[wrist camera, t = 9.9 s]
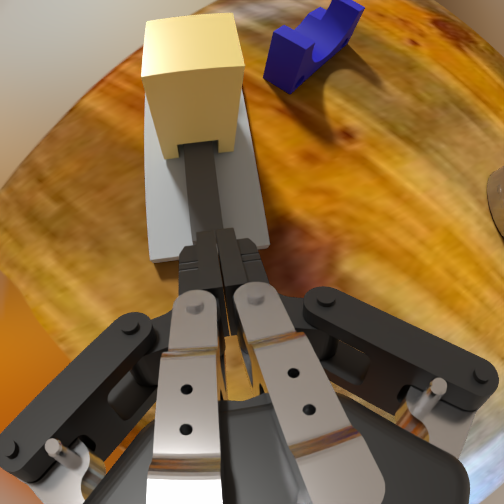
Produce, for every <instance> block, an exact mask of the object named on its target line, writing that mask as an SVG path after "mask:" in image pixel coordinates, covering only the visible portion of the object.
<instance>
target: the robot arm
mask: <svg viewBox="0 0 504 504" xmlns="http://www.w3.org/2000/svg"><path fill="white" fill-rule="evenodd" d="M487 194H488V202H489V206H490V210H491V213H492V216H493V219H494V221H495V224H496V226H497V228H498V230H499V231H500V233H501V235H502V236H503V237H504V166H503V167H501V168H499V169H498V170H496V171H494V172H493V173H492V174H491V175H490V177H489V179H488V185H487ZM216 239H217V247H218V253H217V247H216V240H215V233H214V230H209V231H202V232H196V240H197V245H190V246H184V248H183V249H182V251H181V252H180V254H179V297H178V298H177V299H176V300H175V302H174V304H173V309H172V310H171V311H169V312H168V313H166V314H164V315H162V316H160V317H157V318H154V319H152V320H150V318H149V317H148V316H147V315H145V314H143V313H139V312H131V313H127V314H124V315H122V316H120V317H119V318H118V319H116V320H115V321H114V322H113V323H112V324H111V325H110V326H109V327H108V328H107V329H106V330H104V331H103V332H102V333H101V334H100V335H99V336H98V337H97V338H96V339H95V340H94V341H93V342H92V343H91V344H90V345H89V346H88V347H86V348H85V349H84V350H83V351H82V352H81V353H80V354H79V355H78V356H77V357H76V358H75V359H74V360H73V361H72V362H71V363H70V364H69V365H68V366H67V367H66V368H65V369H64V370H63V371H62V372H61V373H60V374H59V375H58V376H57V377H56V378H55V379H53V380H52V382H51V383H50V384H49V385H47V386H46V387H45V388H44V389H43V390H42V392H41V393H40V394H39V395H37V397H35V399H34V400H33V401H32V402H31V403H30V404H29V405H28V406H27V407H26V408H25V409H24V410H23V411H22V412H21V413H20V414H19V415H18V416H17V417H16V418H15V419H14V420H13V421H12V422H11V423H10V424H9V425H8V426H7V427H6V429H4V431H3V432H2V433H1V434H0V467H1V468H3V469H4V470H5V471H7V472H9V473H10V474H12V475H14V476H15V477H17V478H18V479H19V480H20V481H22V482H24V483H25V484H27V485H29V487H30V488H31V489H32V490H33V491H34V492H35V494H36V495H37V496H38V497H39V499H40V500H41V501H42V502H43V503H44V504H469V495H470V482H469V477H468V474H467V472H466V469H465V468H464V466H463V464H462V463H461V462H460V461H459V460H458V458H459V456H460V454H461V451H462V449H463V446H464V444H465V441H466V439H467V436H468V433H469V431H470V428H471V425H472V422H473V419H474V417H475V414H476V411H477V410H478V409H479V408H480V407H481V406H482V405H483V404H484V403H485V402H486V401H487V400H488V398H489V397H490V396H491V395H492V394H493V393H494V392H495V390H496V389H497V387H498V383H499V377H498V373H497V371H496V369H495V367H494V366H493V365H492V364H491V363H490V362H488V361H487V360H485V359H483V358H481V357H479V356H477V355H475V354H473V353H470V352H468V351H466V350H464V349H462V348H460V347H458V346H456V345H454V344H451V343H449V342H447V341H445V340H443V339H441V338H439V337H437V336H434V335H432V334H430V333H428V332H426V331H424V330H422V329H420V328H418V327H415V326H413V325H411V324H409V323H407V322H405V321H403V320H401V319H398V318H396V317H394V316H392V315H390V314H388V313H386V312H384V311H381V310H379V309H377V308H375V307H373V306H371V305H369V304H367V303H364V302H362V301H360V300H358V299H356V298H354V297H352V296H350V295H347V294H345V293H343V292H341V291H339V290H337V289H334V288H331V287H316V288H313V289H311V290H309V291H308V292H307V293H306V294H305V296H304V298H295V297H287V296H283V295H281V294H279V293H277V291H276V290H275V288H274V287H272V286H271V285H270V284H269V281H268V278H267V275H266V272H265V269H264V267H263V264H262V261H261V258H260V255H259V252H258V249H257V246H256V244H255V243H254V242H253V241H251V240H250V239H249V238H243V239H236V235H235V231H234V228H233V227H232V228H224V229H216ZM218 255H219V260H218ZM219 263H220V266H219ZM220 271H221V272H220ZM221 277H222V279H221ZM222 284H223V285H222ZM223 290H224V292H223ZM224 296H225V300H224ZM225 302H226V307H225ZM226 308H227V314H228V319H229V325H230V331H231V336H232V335H237V336H238V341H239V349H240V355H241V358H242V361H243V365H244V368H245V371H246V375H247V378H248V381H249V384H250V388H251V391H252V394H253V398H251V399H248V400H245V401H229V400H228V392H227V376H226V360H225V348H226V347H225V339H224V337H226V336H229V329H228V322H227V315H226ZM339 340H340V341H339ZM341 341H342V342H341ZM343 342H344V343H343ZM345 343H346V344H345ZM347 344H348V345H347ZM349 345H350V346H349ZM351 346H352V347H351ZM353 347H354V348H353ZM358 350H359V351H358ZM360 351H361V352H360ZM362 352H363V353H362ZM364 353H365V354H364ZM329 380H330V381H331V382H333V383H335V384H337V385H338V386H340V387H342V388H344V389H345V390H347V391H349V392H351V393H353V394H354V395H356V396H358V397H360V398H362V399H364V400H365V401H367V402H369V403H371V404H373V405H375V406H376V407H378V408H380V409H382V410H384V411H386V412H388V413H390V414H392V415H394V416H395V422H396V424H397V425H396V424H394V423H392V422H391V421H389V420H387V419H385V418H384V417H382V416H380V415H378V414H377V413H375V412H373V411H371V410H370V409H368V408H366V407H365V406H363V405H361V404H360V403H358V402H356V401H355V400H353V399H351V398H349V397H347V396H345V395H343V394H340V393H337V392H335V391H334V389H333V387H332V385H331V383H330V381H329ZM155 402H156V414H155V419H154V420H153V421H151V422H150V423H149V424H147V425H146V426H145V427H144V428H143V429H142V430H141V431H140V432H139V434H138V435H137V436H136V437H135V439H134V440H133V441H132V442H131V444H130V445H129V446H128V448H127V449H126V450H125V451H124V453H123V454H122V455H121V456H120V458H119V459H118V460H117V461H116V463H115V464H114V465H113V466H112V468H111V469H110V470H109V471H108V473H107V474H106V469H105V464H104V461H105V460H106V459H107V458H108V457H109V455H110V454H111V453H112V452H113V450H115V448H116V447H117V446H118V445H119V444H120V443H121V442H122V440H123V439H124V438H125V437H126V436H127V435H128V433H129V432H130V431H131V430H132V429H133V428H134V426H135V425H136V424H137V423H138V422H139V421H140V419H141V418H142V417H143V416H144V415H145V414H146V412H147V411H148V410H149V409H150V408H151V406H152V405H153V404H154V403H155ZM105 474H106V475H105Z"/></svg>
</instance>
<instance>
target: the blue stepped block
mask: <svg viewBox="0 0 504 504" xmlns="http://www.w3.org/2000/svg"><path fill="white" fill-rule="evenodd" d="M364 9H365V7H363V6H361V5H360V4H358V3H356V2H354V1H352V0H332V1H331V4H330V6H329V8H328V9H327V10H325V9H323V8H321V7H319V8H317V9H316V10H314V11H312V12H311V13H309V14H308V15H307V16H306V18H305V19H304V20H303V21H302V22H301V24H300V25H299V26H298V27H297V28H296V29H295V30H293V29H291V28H289V27H287V26H285V25H283V26H282V27H280V28H279V29H277V30H275V31H274V32H273V36H272V40H271V45H270V49H269V53H268V58H267V62H266V67H265V71H264V75H263V78H264V79H266V80H267V81H269V82H271V83H272V84H274V85H275V86H277V87H279V88H280V89H282V90H283V91H285V92H287V93H288V94H291V93H292V92H293V91H294V90H295V89H297V88H298V87H299V86H300V85H301V84H302V83H303V82H304V81H305V80H306V79H308V78H309V77H310V76H311V75H312V74H313V73H314V72H315V71H316V70H318V69H319V68H320V67H321V66H322V65H323V64H324V63H326V62H327V61H328V60H329V59H330V58H331V57H332V56H334V55H335V54H336V53H337V52H338V51H339V50H341V49H342V48H343V47H344V46H345V45H347V44H348V42H349V39H350V37H351V35H352V33H353V31H354V29H355V27H356V25H357V23H358V21H359V19H360V17H361V15H362V13H363V11H364Z"/></svg>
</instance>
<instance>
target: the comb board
mask: <svg viewBox="0 0 504 504" xmlns="http://www.w3.org/2000/svg"><path fill="white" fill-rule="evenodd" d="M144 155H145V192H146V213H147V229H148V242H149V254H150V260H151V261H152V262H153V263H158V262H166V261H174V260H179V254H180V252H181V251H182V249H183V248H184V246H190V245H197V240H196V232H202V231H209V230H214V233H215V240H216V247H217V239H216V229H224V228H232V227H233V228H234V231H235V235H236V239H243V238H249V239H250V240H251V241H253V242H254V243H255V244H256V246H257V249H266V248H268V247H269V245H270V241H269V235H268V229H267V223H266V218H265V212H264V206H263V200H262V195H261V189H260V183H259V178H258V172H257V167H256V161H255V156H254V150H253V145H252V139H251V134H250V129H249V123H248V118H247V113H246V108H245V102H244V97H243V92H242V89H241V97H240V104H239V112H238V120H237V128H236V136H235V144H234V151H233V152H223V153H218V146H217V140H213V141H204V142H195V143H187V144H179V158H172V159H165V160H164V157H163V154H162V151H161V147H160V144H159V140H158V137H157V133H156V130H155V126H154V123H153V119H152V116H151V112H150V108H149V105H148V101H147V97H146V93H145V125H144ZM217 253H218V247H217Z"/></svg>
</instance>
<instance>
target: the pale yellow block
mask: <svg viewBox="0 0 504 504" xmlns="http://www.w3.org/2000/svg"><path fill="white" fill-rule="evenodd" d="M244 67H245V65H244V60H243V56H242V51H241V47H240V42H239V38H238V34H237V29H236V25H235V21H234V16H233V13H217V14H202V15H191V16H181V17H173V18H166V19H159V20H152V21H147V22H146V30H145V40H144V49H143V60H142V74H141V78H142V82H143V86H144V89H145V93H146V97H147V101H148V105H149V108H150V112H151V116H152V119H153V123H154V126H155V130H156V133H157V137H158V140H159V144H160V147H161V151H162V154H163V157H164V160H165V159H172V158H179V144H187V143H195V142H204V141H213V140H217V146H218V153H223V152H233V151H234V144H235V136H236V128H237V120H238V112H239V104H240V97H241V89H242V82H243V75H244Z"/></svg>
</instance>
